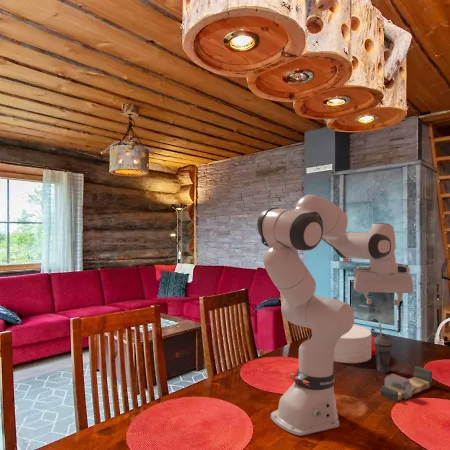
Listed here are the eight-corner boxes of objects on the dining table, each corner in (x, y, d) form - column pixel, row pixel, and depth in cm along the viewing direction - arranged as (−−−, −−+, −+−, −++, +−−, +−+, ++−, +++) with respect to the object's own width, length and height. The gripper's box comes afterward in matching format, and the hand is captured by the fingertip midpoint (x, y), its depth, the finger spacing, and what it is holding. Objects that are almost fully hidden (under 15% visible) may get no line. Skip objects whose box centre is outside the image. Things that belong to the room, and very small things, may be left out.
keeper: (405, 399, 130) (405, 382, 130) (384, 391, 137) (384, 375, 137) (411, 396, 132) (411, 380, 132) (390, 388, 139) (390, 372, 139)
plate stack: (309, 342, 196) (309, 321, 196) (363, 345, 192) (363, 323, 192) (315, 361, 168) (315, 336, 169) (378, 365, 165) (378, 339, 165)
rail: (396, 401, 129) (396, 384, 129) (380, 395, 134) (380, 378, 134) (432, 386, 142) (432, 370, 142) (416, 380, 147) (416, 366, 147)
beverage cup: (393, 374, 153) (393, 327, 154) (375, 373, 155) (375, 326, 155) (389, 368, 160) (389, 322, 161) (372, 366, 162) (372, 321, 162)
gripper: (354, 267, 133) (354, 305, 133) (414, 268, 129) (414, 307, 129) (351, 265, 139) (352, 301, 139) (409, 266, 136) (409, 303, 135)
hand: (382, 304), depth 134 cm, fingers open, 8 cm apart
